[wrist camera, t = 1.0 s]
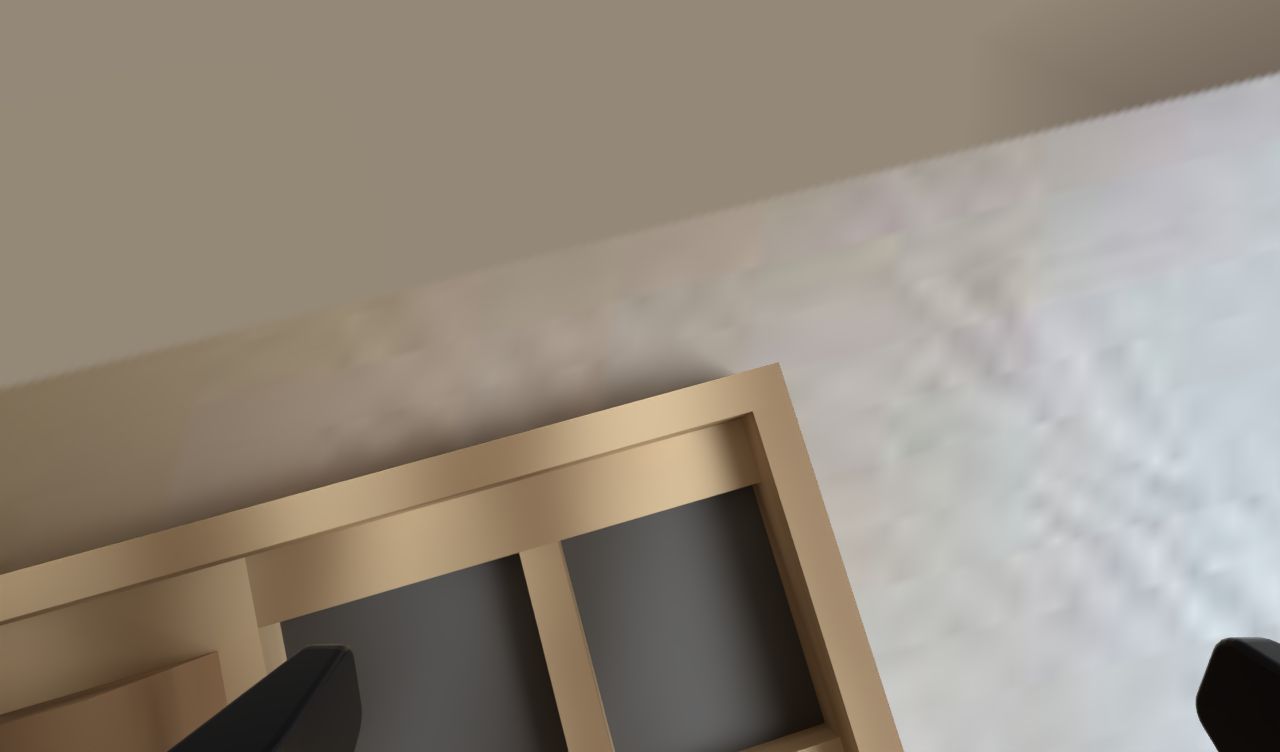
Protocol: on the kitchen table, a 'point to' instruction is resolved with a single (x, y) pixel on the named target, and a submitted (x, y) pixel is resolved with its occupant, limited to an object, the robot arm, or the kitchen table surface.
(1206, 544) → the kitchen table surface
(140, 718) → the walnut block
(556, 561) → the oak tray
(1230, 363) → the kitchen table surface
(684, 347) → the kitchen table surface
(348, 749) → the robot arm
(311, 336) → the kitchen table surface
